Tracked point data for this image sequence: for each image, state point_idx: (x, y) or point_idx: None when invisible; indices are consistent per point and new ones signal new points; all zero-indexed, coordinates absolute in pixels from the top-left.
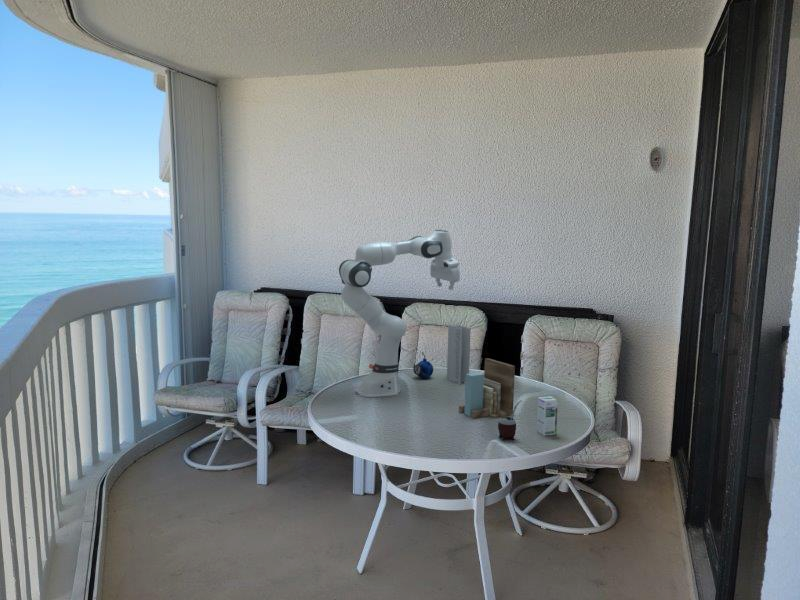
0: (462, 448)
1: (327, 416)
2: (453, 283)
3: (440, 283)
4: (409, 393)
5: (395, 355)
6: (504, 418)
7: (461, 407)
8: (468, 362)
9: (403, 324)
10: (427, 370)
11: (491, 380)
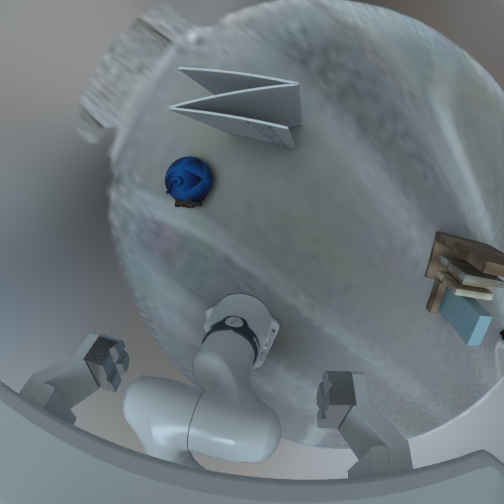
0: (477, 384)
1: (299, 434)
2: (394, 445)
3: (107, 377)
4: (283, 296)
5: (250, 366)
6: None
7: (435, 312)
8: (298, 116)
9: (276, 441)
10: (208, 188)
11: (487, 279)
